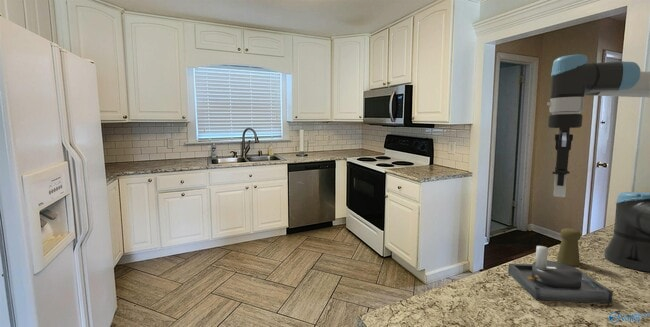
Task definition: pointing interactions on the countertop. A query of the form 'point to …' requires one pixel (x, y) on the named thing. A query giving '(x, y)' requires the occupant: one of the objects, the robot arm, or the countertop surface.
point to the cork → (569, 247)
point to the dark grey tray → (540, 291)
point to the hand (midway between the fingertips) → (559, 196)
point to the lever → (554, 271)
